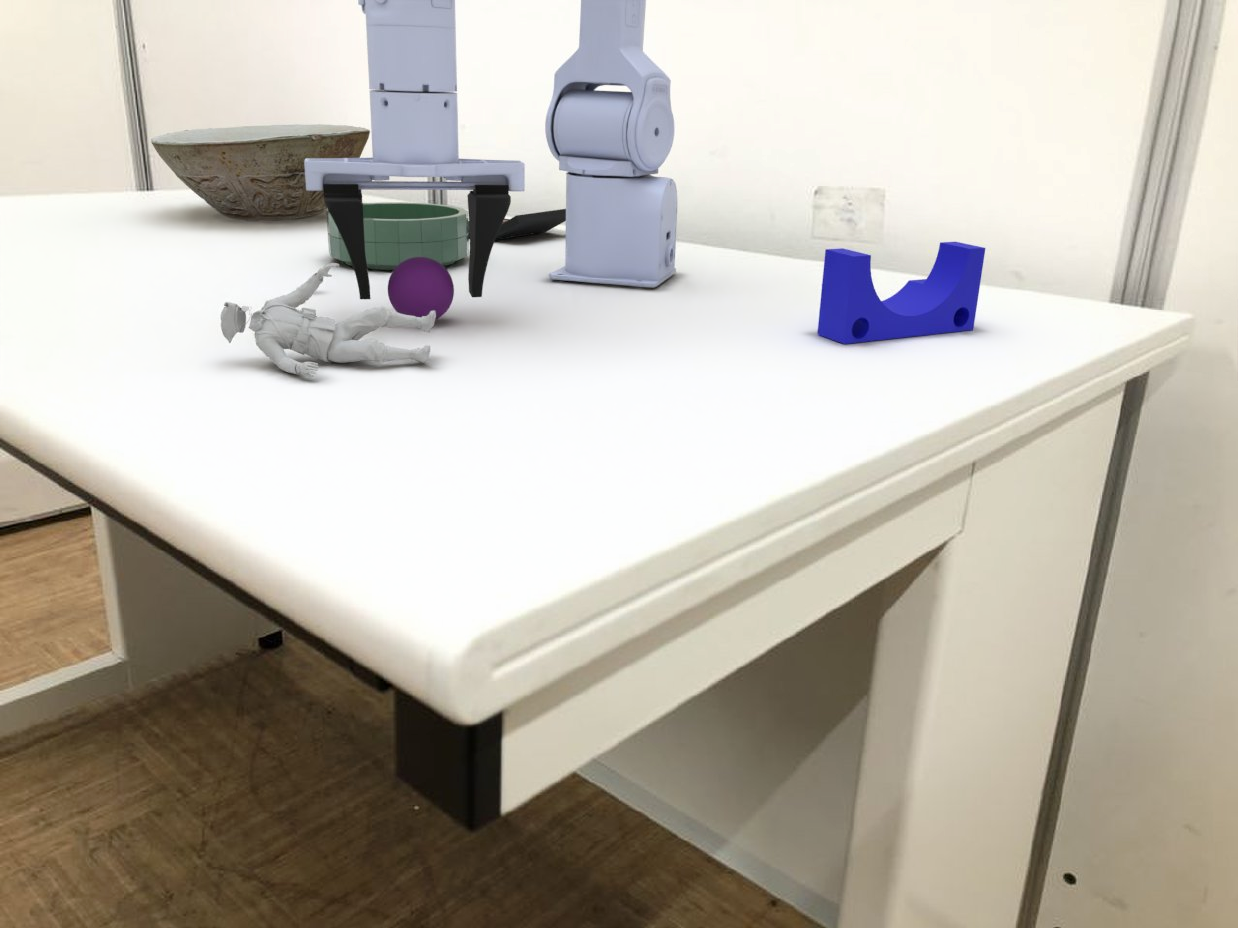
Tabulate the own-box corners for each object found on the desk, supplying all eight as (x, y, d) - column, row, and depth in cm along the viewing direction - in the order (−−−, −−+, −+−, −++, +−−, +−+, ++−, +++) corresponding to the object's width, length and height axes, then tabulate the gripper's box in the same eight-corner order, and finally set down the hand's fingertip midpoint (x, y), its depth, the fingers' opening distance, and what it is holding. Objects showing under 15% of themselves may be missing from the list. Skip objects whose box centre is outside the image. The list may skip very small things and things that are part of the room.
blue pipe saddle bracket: (930, 317, 82) (940, 238, 80) (973, 329, 79) (985, 247, 76) (804, 329, 77) (812, 246, 75) (844, 344, 73) (853, 256, 71)
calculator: (495, 225, 122) (495, 198, 121) (575, 236, 116) (576, 208, 115) (437, 233, 115) (436, 205, 114) (519, 245, 109) (519, 216, 108)
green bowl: (489, 254, 103) (488, 207, 102) (432, 277, 92) (430, 224, 90) (372, 245, 106) (369, 199, 105) (303, 265, 95) (299, 214, 93)
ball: (465, 318, 77) (463, 254, 76) (437, 332, 73) (435, 265, 72) (407, 312, 79) (405, 250, 77) (377, 326, 74) (373, 260, 73)
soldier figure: (425, 396, 63) (212, 340, 58) (404, 429, 67) (203, 380, 62) (442, 287, 66) (242, 227, 62) (422, 325, 70) (232, 271, 66)
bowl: (115, 224, 115) (101, 127, 111) (226, 199, 137) (218, 118, 133) (322, 235, 111) (315, 135, 108) (402, 208, 133) (398, 124, 130)
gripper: (297, 90, 65) (312, 309, 70) (532, 96, 69) (531, 305, 73) (301, 87, 72) (315, 288, 76) (515, 93, 75) (516, 285, 80)
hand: (420, 295), depth 75 cm, fingers open, 7 cm apart
